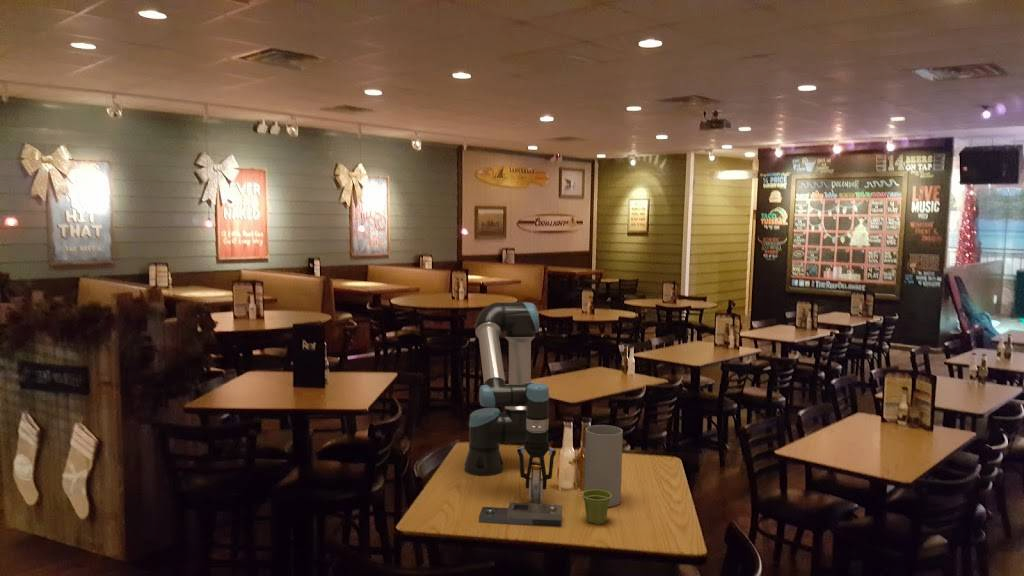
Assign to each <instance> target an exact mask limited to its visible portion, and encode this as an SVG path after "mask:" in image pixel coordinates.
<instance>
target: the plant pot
mask: <svg viewBox="0 0 1024 576" xmlns="http://www.w3.org/2000/svg"><path fill="white" fill-rule="evenodd" d="M611 496H612V495H611V494H610V493H609V492H607V491H604V490H587V491H583V492H581V497H582V499H583V502H584V508H585V515H586V516H585V517H586V521H587V522H588V523H589V522H590V523H589V524H592V523H593V524H594V525H602V524H604V523H605V522H606V521H607V516H608V511H609V510H608V508H609V507H608V504H609V501H610V498H611Z"/></svg>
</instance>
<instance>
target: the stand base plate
mask: <svg viewBox="0 0 1024 576" xmlns="http://www.w3.org/2000/svg"><path fill="white" fill-rule="evenodd" d="M562 519H563V504H551V503H541V504H534V503H531V502H515V501H514V502H512V501H511V502H509V504H508V507H494V506H482V508H481V511H480V513H479V515H478V523H485V524H486V523H488V524H503V525H504V524H507V525H520V526H521V525H524V526H538V527H539V526H540V527H559V528H561V527H562V521H563V520H562Z"/></svg>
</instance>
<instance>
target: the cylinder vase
mask: <svg viewBox="0 0 1024 576" xmlns="http://www.w3.org/2000/svg"><path fill="white" fill-rule="evenodd" d="M623 431H624V430H623V429H622V428H621V427H617V426H615V425H607V424H598V425H597V424H596V425H590V426H588V427H586V428H585V441H584V443H585V445H584V447H585V449H584V450H585V451H584V485H583V486H584V487H583V489H584V491H587V490H604V491H607V492H609V493H610V494H611V495H612V496H611V498H610V501H609V504H608V508H610V507H612V508H613V507H616V506H618V505H620V503H621V500H622V474H623V472H622V471H623V470H622V469H623V468H622V467H623V463H622V462H623V437H624V436H623V434H624V433H623ZM584 491H583V492H584Z"/></svg>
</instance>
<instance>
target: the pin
mask: <svg viewBox="0 0 1024 576" xmlns="http://www.w3.org/2000/svg"><path fill="white" fill-rule="evenodd" d="M531 478H532V486H531V499H530V500H531V501H530V503H534V504H542V500H540V484H541V478H542V471H541V464H540V461H533V462H532V464H531Z"/></svg>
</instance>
